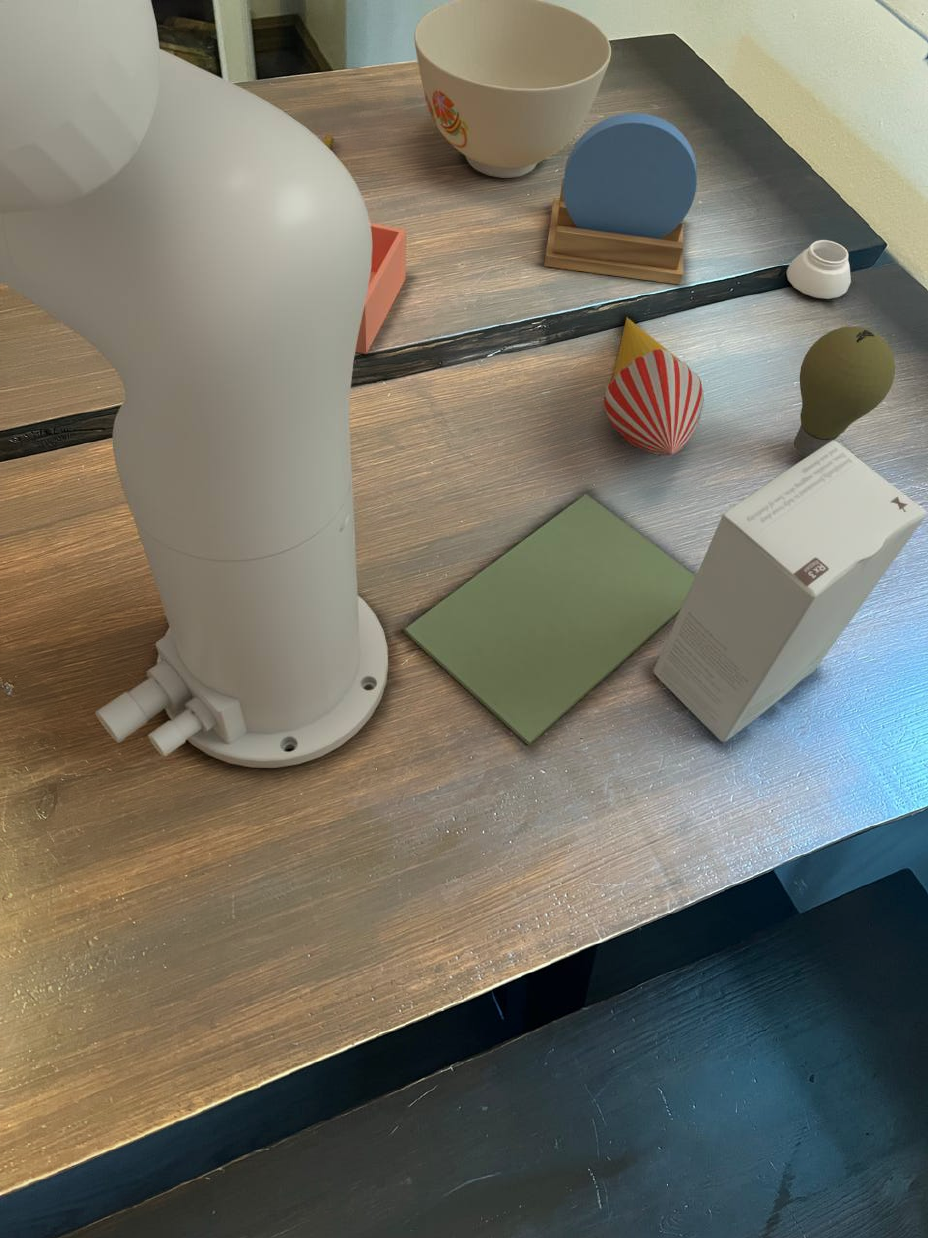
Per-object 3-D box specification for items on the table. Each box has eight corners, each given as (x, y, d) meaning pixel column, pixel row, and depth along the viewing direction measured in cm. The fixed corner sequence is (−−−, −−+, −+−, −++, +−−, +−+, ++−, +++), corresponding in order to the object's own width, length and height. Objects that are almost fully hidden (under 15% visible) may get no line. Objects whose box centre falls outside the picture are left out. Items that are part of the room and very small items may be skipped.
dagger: (306, 209, 79) (282, 200, 79) (305, 218, 80) (281, 210, 79) (341, 137, 84) (319, 128, 84) (340, 146, 85) (318, 137, 85)
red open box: (405, 278, 75) (407, 156, 67) (366, 354, 70) (363, 231, 62) (190, 230, 77) (167, 106, 69) (136, 299, 71) (104, 174, 63)
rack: (680, 284, 77) (689, 251, 74) (544, 266, 77) (549, 232, 75) (680, 225, 82) (689, 192, 79) (552, 207, 82) (557, 174, 79)
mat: (528, 745, 52) (529, 742, 52) (404, 632, 56) (404, 628, 56) (705, 588, 59) (707, 584, 59) (584, 497, 63) (585, 493, 63)
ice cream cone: (629, 370, 77) (673, 514, 62) (569, 325, 74) (600, 464, 59) (685, 310, 74) (746, 447, 59) (624, 261, 71) (672, 390, 56)
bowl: (394, 119, 89) (394, 0, 80) (557, 106, 92) (574, -10, 84) (437, 218, 80) (442, 96, 72) (615, 200, 83) (640, 81, 75)
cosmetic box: (742, 608, 58) (834, 428, 46) (819, 677, 56) (938, 505, 44) (645, 678, 55) (716, 503, 43) (722, 754, 53) (821, 591, 40)
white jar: (826, 261, 80) (774, 269, 79) (840, 228, 78) (786, 236, 76) (858, 297, 77) (804, 306, 76) (873, 265, 75) (818, 274, 74)
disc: (678, 255, 77) (712, 131, 69) (554, 238, 77) (573, 113, 69) (678, 245, 78) (712, 122, 69) (555, 228, 78) (575, 103, 70)
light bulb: (780, 414, 69) (833, 296, 61) (856, 444, 67) (920, 327, 59) (756, 462, 66) (808, 344, 58) (834, 494, 64) (899, 378, 56)
